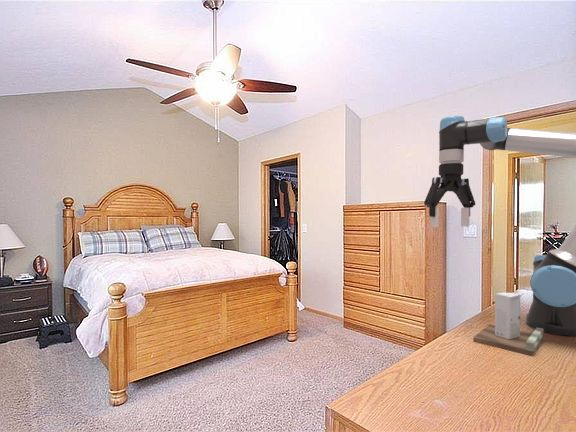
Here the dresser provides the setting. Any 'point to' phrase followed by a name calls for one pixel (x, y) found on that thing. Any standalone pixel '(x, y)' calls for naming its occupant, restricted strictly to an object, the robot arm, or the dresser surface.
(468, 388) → the dresser surface
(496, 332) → the skincare box
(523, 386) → the dresser surface
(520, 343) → the walnut board
